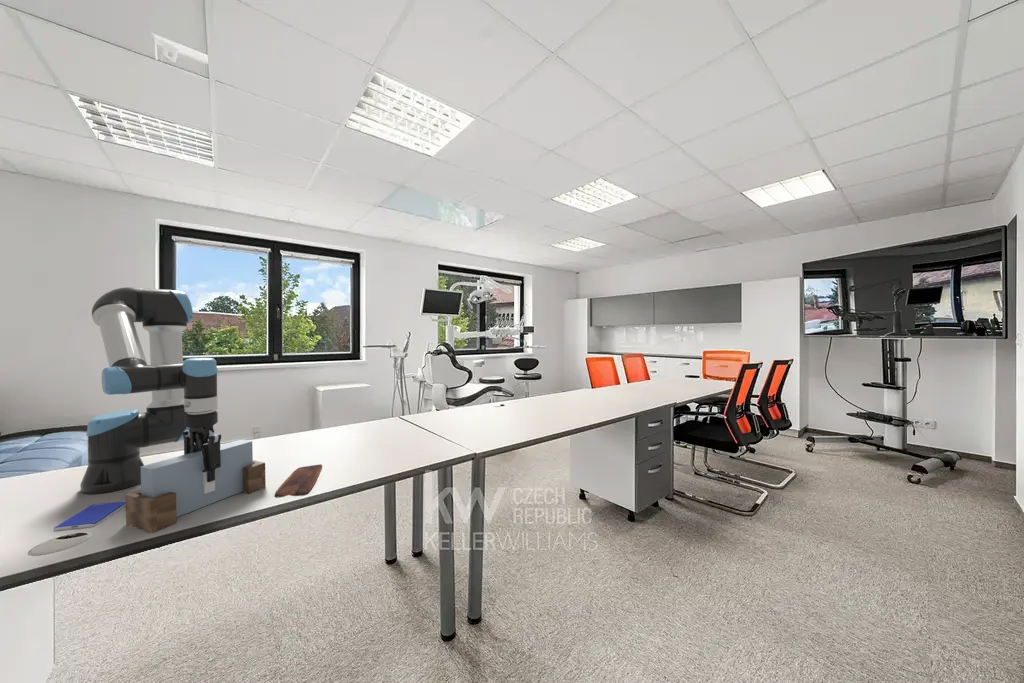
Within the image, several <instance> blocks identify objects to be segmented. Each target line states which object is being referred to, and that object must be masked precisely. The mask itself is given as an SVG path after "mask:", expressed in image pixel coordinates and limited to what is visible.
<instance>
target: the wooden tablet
mask: <svg viewBox="0 0 1024 683" xmlns="http://www.w3.org/2000/svg"><path fill="white" fill-rule="evenodd" d="M322 468H323V464H321V463H320V464H315V465H314V464H313V465H306V466H301V467H297V468H296V469H295V470H293V472H291V474H290V475H289V476H288V477H287V478H286V479H285V480H284V481H283V483H282V484H281V485H280V486H279V487H278V489H277V490H276V491H275V493H274V497H275V498H281V497H287V496H295V497H296V496H304V495H307V494H308V493H309V492H310V491H311V489H312V488H313V486H314V485H315V483H316V482H317V480H318V477H319V475H320V473H321V471H322Z"/></svg>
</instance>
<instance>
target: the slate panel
mask: <svg viewBox="0 0 1024 683" xmlns="http://www.w3.org/2000/svg"><path fill="white" fill-rule="evenodd" d="M220 456H221V467H219V468H216V469H215V491H212V492H209V493H206V494H203V472H202V470H205V467H204V462H203V455H202V451H198V452H194V453H189V454H186V455H184V454H182V455H179V456H176V457H175V456H174V457H170V458H167V459H164V460H160V461H156V462H153V463H149V464H144V466H141V483H140V490H141V496H145V497H148V498H153V497H156V496H159V495H162V494H165V493H168V492H174V493H176V509H177V518H178V517H181V516H184V515H186V514H189V513H191V512H194V511H196V510H198V509H201V508H203V507H206V506H209V505H212V504H213V503H214V504H215V503H217V502H218V501H221V500H224V499H227V498H229V497H232V496H235V495H237V494H240V493H241V492H244V487H243V467H246V466H249V465H252V464H253V460H254V458H253V456H254V454H253V441H252V440H247V439H243V438H241V439H239V440H234V441H230V442H227V443H223V444H220Z"/></svg>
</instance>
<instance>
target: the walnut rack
mask: <svg viewBox="0 0 1024 683" xmlns="http://www.w3.org/2000/svg"><path fill="white" fill-rule="evenodd" d="M243 487H244V491H243V493H245V494H248V495H249V494H253V493H254V492H256V491H259V490H261V489H264V488H266V462H265V461H264V462H263V461H257V460H254V459H253V464H252V465H249V466H246V467H243ZM124 497H125V498H124V499H125V500H124V501H125V506H124V507H125V525H127V526H130V527H133V528H135V529H139V530H140V531H141V530H142V531H143V532H147V533H150V534H153V533H155V532H157V531H160V530H164V529H165V528H167V527H170V526H173V525H175V524H177V523H178V519H177V518H178V517H177V509H176V493H174V492H168V493H165V494H162V495H159V496H156V497H153V498H148V497H145V496H141V489H138V490H135V491H131V492H128V493H125V495H124Z"/></svg>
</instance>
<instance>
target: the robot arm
mask: <svg viewBox="0 0 1024 683" xmlns="http://www.w3.org/2000/svg"><path fill="white" fill-rule="evenodd" d="M193 312H194V310H193V307H192V303H191V300H190V298H189V296H188V295H187V293H186V292H184V291H182V290H181V291H180V290H175V289H174V290H172V289H170V288H169V289H162V288H143V287H142V288H140V287H131V286H129V287H120V288H115V289H112V290H110V291H108V292H106V293H104V294H103V295H101V296H100V297H98V299H97V300H96V301H95V302H94V304H93V306H92V308H91V317H92V320H93V322H94V323H95V325H97V326H99V330H100V334H101V337H102V342H103V346H104V351H105V353H106V359H107V362H108V366H109V367H105V368H103V369H102V371H101V386H102V387H101V389H102V391H103V393H104V394H106V395H109V396H110V395H129V394H137V393H147V392H151V398H152V399H151V402H150V403H149V404H148V405H147V406H146V411H145V412H140V411H139V410H138V409H135V408H133V409H132V408H131V409H121V410H118V411H117V410H116V411H111V412H107V413H104V414H100V415H97V416H95V417H93V418H91V419H90V420H89V421H88V423H87V427H86V428H87V429H86V430H87V431H86V434H85V435H86V437H87V461H88V464H87V467H86V470H85V472H84V475H83V477H82V480H81V482H80V492H81V493H82V494H89V495H91V494H93V495H94V494H95V495H96V494H104V493H110V492H114V491H120V490H123V489H128V488H132V487H134V486H137V485H139V484H141V466H145V464H144V461H143V460H142V458H141V454H140V452H141V451H140V449H141V448H146V447H147V448H148V447H155V446H158V445H163V444H164V445H165V444H169V443H170V444H171V443H178V442H180V441H183V455H186V454H189V453H194V452H198V451H202V455H203V462H204V467H205V470H202V472H203V494H206V493H209V492H212V491H215V469H216V468H219V467H221V456H220V445H221V439H222V434H220V433H218V434H217V433H215V429H214V425H216V424H218V422H219V421H218V420H219V418H218V417H219V416H218V411H217V410H218V408H219V406H218V370H219V369H218V367H217V360H216V359H215V358H213V357H195V358H194V357H192V358H187V359H185V360H184V358H183V357H184V355H183V354H184V352H183V331H185V330H186V329H187V328H188V326H187V325H188V324H189V323H192V322H193V319H194V318H193V315H194V313H193ZM135 323H142V329H144V330H145V331H147V332H148V335H149V336H148V337H149V339H148V340H149V357H150V364H148V363H147V359H146V357H145V354H144V350H143V347H142V344H141V341H140V338H139V335H138V331H137V328H136V325H135Z"/></svg>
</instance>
